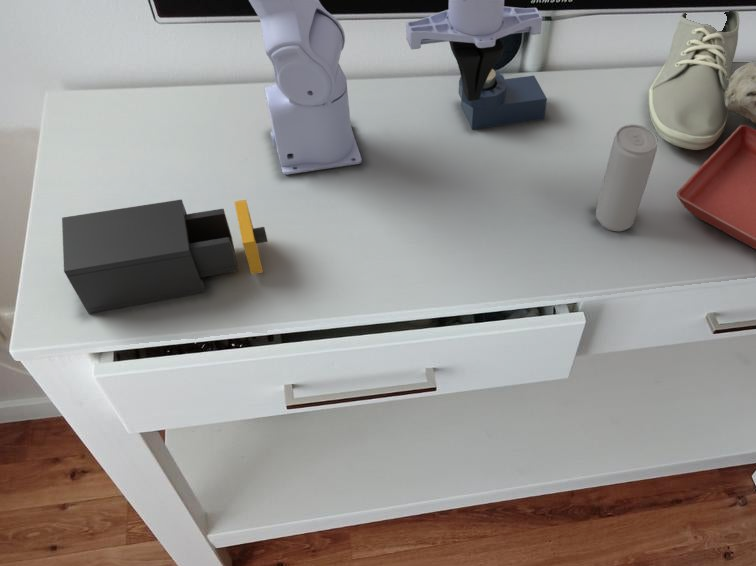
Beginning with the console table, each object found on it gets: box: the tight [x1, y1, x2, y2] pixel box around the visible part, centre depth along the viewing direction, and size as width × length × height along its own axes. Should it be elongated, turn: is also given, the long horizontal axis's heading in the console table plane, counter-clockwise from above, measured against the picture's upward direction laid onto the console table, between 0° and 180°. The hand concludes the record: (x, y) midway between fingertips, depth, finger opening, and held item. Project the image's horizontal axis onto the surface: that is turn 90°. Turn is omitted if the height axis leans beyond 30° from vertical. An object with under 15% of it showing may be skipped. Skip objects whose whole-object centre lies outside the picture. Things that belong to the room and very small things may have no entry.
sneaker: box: [648, 10, 740, 151], centre depth 105 cm, size 11×29×8 cm, turn 165°
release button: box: [482, 68, 496, 91], centre depth 97 cm, size 3×3×2 cm
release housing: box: [458, 69, 548, 130], centre depth 100 cm, size 11×6×5 cm, turn 109°
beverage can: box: [595, 124, 659, 232], centre depth 88 cm, size 5×5×12 cm
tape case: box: [61, 199, 206, 315], centre depth 79 cm, size 11×7×6 cm, turn 109°
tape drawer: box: [185, 199, 269, 278], centre depth 81 cm, size 12×6×5 cm, turn 109°
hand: (471, 95), depth 89 cm, fingers closed
